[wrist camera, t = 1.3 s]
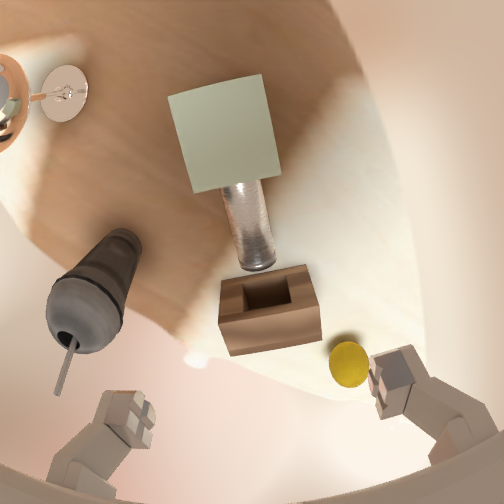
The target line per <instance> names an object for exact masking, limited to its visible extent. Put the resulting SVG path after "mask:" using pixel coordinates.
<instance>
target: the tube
mask: <svg viewBox="0 0 504 504" xmlns="http://www.w3.org/2000/svg"><path fill="white" fill-rule="evenodd" d="M220 190H221V194H222V198H223V201H224V205H225V209H226V213H227V217H228V220H229V224H230V228H231V232H232V236H233V239H234V243H235V247H236V250H237V254H238V259H239V262H240V266H241V268H242V269H244V270H246V271H252V272H254V271H261V270H264V269H267V268H269V267H271V266H272V265H273V264H274V263H275V262H276V253H275V249H274V244H273V239H272V234H271V229H270V224H269V219H268V214H267V209H266V204H265V199H264V195H263V190H262V185H261V180H260V179H259V180H254V181H249V182H244V183H239V184H235V185H230V186H226V187H221V188H220Z"/></svg>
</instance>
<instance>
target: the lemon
mask: <svg viewBox="0 0 504 504" xmlns="http://www.w3.org/2000/svg"><path fill="white" fill-rule="evenodd" d="M329 368H330V371H331V374H332V376H333V378H334V379H335V381H336V382H337V383H338V384H339V385H341V386H343V387H347V388H353V387H357V386H359V385H360V384H362V383H363V382H364V381H365V380H366V378H367V376H368V371H369V359H368V356H367V354H366V352H365V350H364V349H363V348H362V347H361V346H360V345H359V344H357V343H355V342H351V341H346V342H342V343H340V344H338V345H337V346H336V347H335V348H334V349H333V350H332V352H331V354H330V357H329Z"/></svg>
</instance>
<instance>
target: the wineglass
mask: <svg viewBox="0 0 504 504" xmlns="http://www.w3.org/2000/svg"><path fill="white" fill-rule="evenodd" d="M87 95H88V82H87V79H86V76H85V75H84V73H83V72H82V71H81V70H80V69H79V68H78V67H76V66H73V65H63V66H60V67H58V68H56V69H55V70H53V71H52V72H51V73H50V74H49V75H48V76H47V78H46V79H45V81H44V83H43V86H42V89H41V93H34V94H31V89H30V83H29V80H28V77H27V75H26V72H25V71H24V69H23V68H22V66H21V65H20V64H19V63H18V62H17V61H16V60H14V59H13V58H11V57H9V56H7V55H3V54H0V154H2V153H3V152H4V151H6V150H7V149H8V148H9V147H10V146H11V145H12V144H13V143H14V141H15V140H16V139H17V137H18V136H19V134H20V132H21V131H22V129H23V127H24V125H25V122H26V120H27V117H28V113H29V109H30V103H31V102H35V101H41V106H42V109H43V111H44V113H45V114H46V116H47V117H48V118H50V119H51V120H53V121H56V122H65V121H68V120H71V119H72V118H74V117H75V116H76V115H77V114H78V113H79V112H80V111H81V110H82V108H83V106H84V105H85V102H86V99H87Z"/></svg>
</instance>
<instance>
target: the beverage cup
mask: <svg viewBox="0 0 504 504" xmlns="http://www.w3.org/2000/svg"><path fill="white" fill-rule="evenodd" d="M141 249H142V247H141V243H140V241H139V239H138V238H137V236H136V235H135V234H133V233H132V232H130V231H128V230H125V229H116V230H114V231H112V232H111V233H110V234H109V235H108V236H106V237H105V238H104V239H102V240H101V241H100V242H99V243H98V244H97V245H96V246H95V247H94V248H93V249H92V250H91V251H90V252H89V253H88V254H87V255H86V256H85V257H84V258H83V259H82V260H81V261H80V262H79V263H78V264H77V265H76V266H75V267H74V268H73V269H72V270H70V271H68V272H67V273H66V274H64V275H63V276H62V277H61V278H59V279H57V280H56V282H55V283H54V285H53V286H52V289H51V292H50V294H49V296H48V299H47V306H46V320H47V323H48V327H49V330H50V332H51V334H52V336H53V337H54V339H55V340H56V341H57V342H58V343H59V344H60V345H61V346H63V347H64V348H65V349H67V350H68V352H67V354H66V357H65V360H64V363H63V366H62V369H61V372H60V375H59V378H58V381H57V385H56V387H55V391H54V395H56V396H60V394H61V390H62V387H63V384H64V381H65V378H66V375H67V371H68V368H69V365H70V362H71V359H72V356H73V353H78V354H90V353H93V352H98V351H100V350H102V349H103V348H104V347H106V346H107V345H108V344H109V343H110V342H111V341H112V340H113V339H114V337H115V336H116V334H117V333H119V331H120V329H121V327H122V324H123V315H124V308H125V306H124V304H125V301H126V298H127V294H128V291H129V288H130V285H131V282H132V279H133V276H134V274H135V271H136V268H137V265H138V262H139V258H140V254H141Z"/></svg>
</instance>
